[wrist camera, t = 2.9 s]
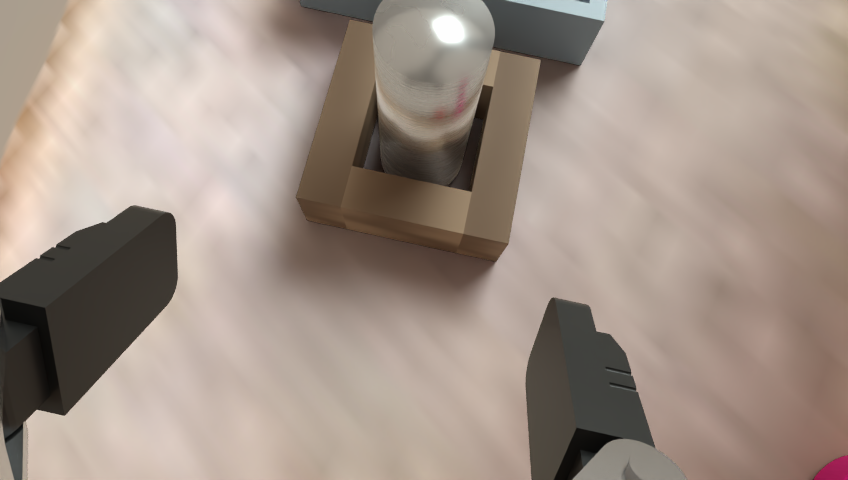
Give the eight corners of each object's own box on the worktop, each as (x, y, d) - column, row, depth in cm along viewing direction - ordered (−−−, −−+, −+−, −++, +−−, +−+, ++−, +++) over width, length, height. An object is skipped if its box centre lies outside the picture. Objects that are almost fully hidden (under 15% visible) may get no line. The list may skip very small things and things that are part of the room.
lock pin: (469, 127, 28) (504, -8, 19) (453, 201, 27) (483, 95, 18) (390, 110, 28) (388, -32, 19) (372, 183, 27) (359, 68, 18)
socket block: (526, 94, 28) (541, 60, 26) (496, 261, 26) (508, 243, 23) (354, 58, 29) (349, 19, 26) (307, 220, 26) (296, 197, 23)
